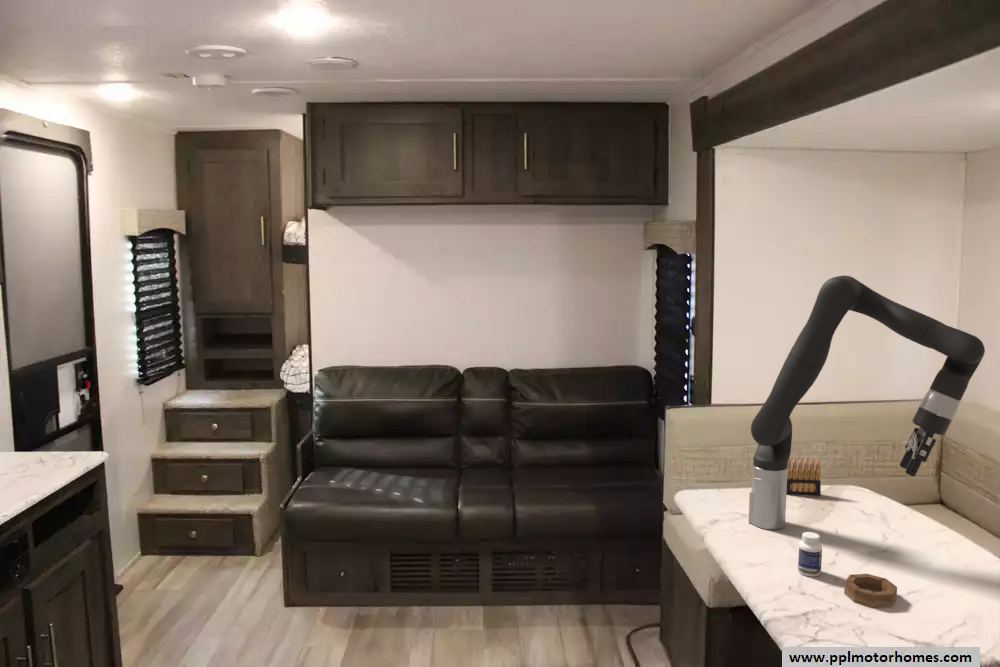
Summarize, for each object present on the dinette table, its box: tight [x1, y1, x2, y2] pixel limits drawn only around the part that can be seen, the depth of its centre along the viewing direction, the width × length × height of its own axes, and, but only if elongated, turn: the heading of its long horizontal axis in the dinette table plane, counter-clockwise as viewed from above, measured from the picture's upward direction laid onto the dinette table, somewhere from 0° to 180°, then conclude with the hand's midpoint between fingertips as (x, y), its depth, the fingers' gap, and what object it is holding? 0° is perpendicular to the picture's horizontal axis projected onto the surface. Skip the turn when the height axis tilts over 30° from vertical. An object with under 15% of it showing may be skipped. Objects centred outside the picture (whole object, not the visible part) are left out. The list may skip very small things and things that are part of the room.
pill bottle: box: [797, 531, 823, 577], centre depth 190 cm, size 5×5×10 cm
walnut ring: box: [843, 573, 898, 609], centre depth 178 cm, size 10×10×3 cm
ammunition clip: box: [786, 456, 822, 497], centre depth 243 cm, size 11×2×12 cm, turn 81°
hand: (906, 471), depth 189 cm, fingers open, 8 cm apart
